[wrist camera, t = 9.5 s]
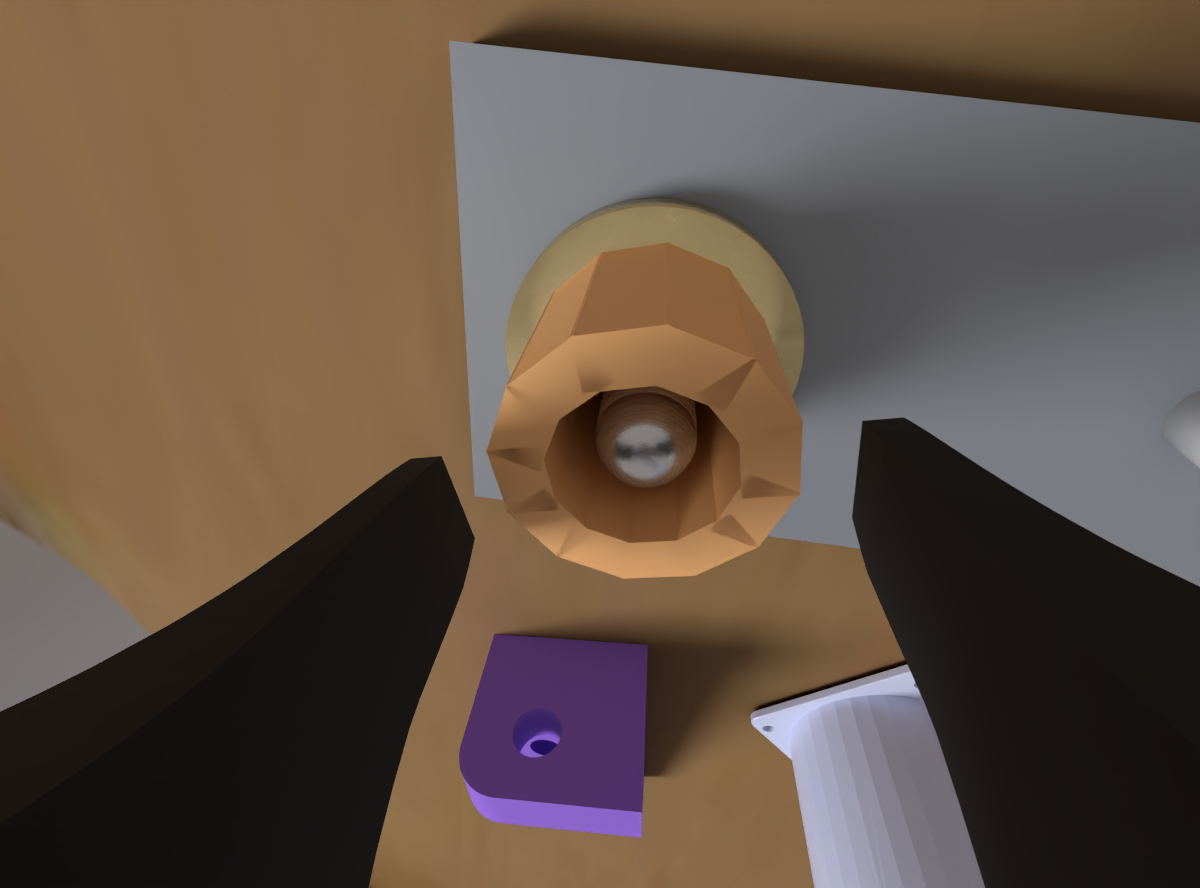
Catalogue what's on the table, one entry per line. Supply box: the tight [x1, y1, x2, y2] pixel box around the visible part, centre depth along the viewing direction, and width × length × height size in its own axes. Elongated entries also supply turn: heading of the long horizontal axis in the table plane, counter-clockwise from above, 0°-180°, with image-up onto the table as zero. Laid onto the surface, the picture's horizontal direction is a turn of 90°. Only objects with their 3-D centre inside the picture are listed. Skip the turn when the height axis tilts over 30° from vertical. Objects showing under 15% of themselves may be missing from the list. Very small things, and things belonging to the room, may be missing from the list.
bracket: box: [459, 634, 648, 837], centre depth 25 cm, size 12×7×7 cm, turn 2°
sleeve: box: [486, 242, 803, 579], centre depth 12 cm, size 5×5×4 cm
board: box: [449, 41, 1200, 586], centre depth 13 cm, size 24×12×5 cm, turn 85°
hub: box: [506, 197, 804, 487], centre depth 12 cm, size 7×7×5 cm
